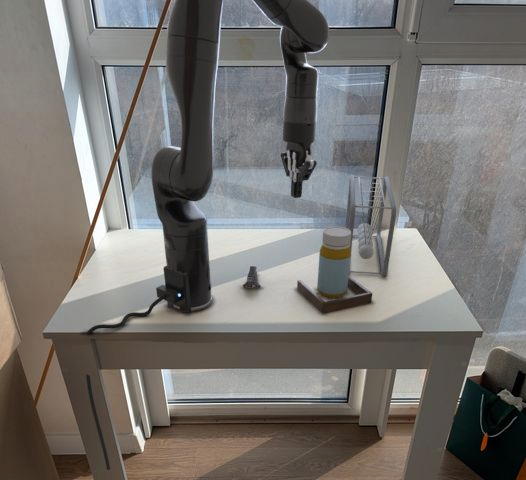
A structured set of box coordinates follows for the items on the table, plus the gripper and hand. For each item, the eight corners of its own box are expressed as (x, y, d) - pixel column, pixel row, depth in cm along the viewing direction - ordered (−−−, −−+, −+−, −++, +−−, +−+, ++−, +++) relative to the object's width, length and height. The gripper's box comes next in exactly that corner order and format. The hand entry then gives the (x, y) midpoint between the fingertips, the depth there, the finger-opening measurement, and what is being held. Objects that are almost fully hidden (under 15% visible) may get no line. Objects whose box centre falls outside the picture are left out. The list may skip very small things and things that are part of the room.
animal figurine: (246, 279, 128) (246, 259, 126) (263, 280, 128) (264, 260, 125) (239, 293, 117) (239, 272, 115) (258, 294, 117) (258, 273, 115)
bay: (296, 289, 121) (297, 280, 119) (342, 280, 125) (343, 271, 124) (322, 313, 111) (323, 303, 110) (371, 303, 115) (372, 293, 114)
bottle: (350, 289, 121) (357, 229, 113) (339, 301, 116) (346, 239, 107) (324, 283, 124) (328, 223, 115) (312, 294, 119) (316, 233, 110)
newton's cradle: (386, 280, 125) (397, 209, 115) (343, 277, 127) (351, 207, 117) (379, 235, 150) (388, 174, 140) (344, 233, 151) (350, 172, 141)
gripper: (271, 116, 118) (269, 192, 127) (301, 123, 108) (296, 205, 117) (299, 115, 121) (295, 189, 130) (330, 122, 111) (324, 202, 120)
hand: (296, 197), depth 123 cm, fingers closed
